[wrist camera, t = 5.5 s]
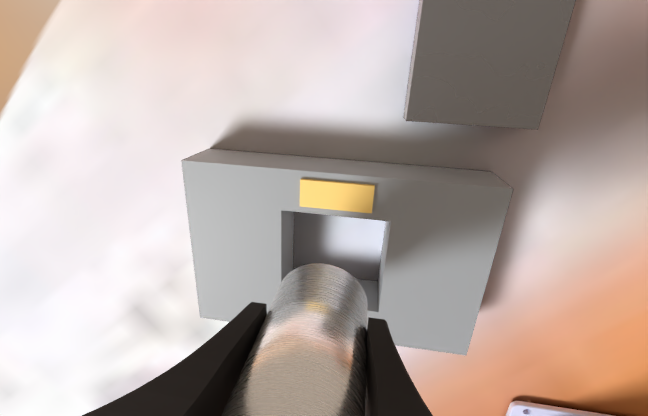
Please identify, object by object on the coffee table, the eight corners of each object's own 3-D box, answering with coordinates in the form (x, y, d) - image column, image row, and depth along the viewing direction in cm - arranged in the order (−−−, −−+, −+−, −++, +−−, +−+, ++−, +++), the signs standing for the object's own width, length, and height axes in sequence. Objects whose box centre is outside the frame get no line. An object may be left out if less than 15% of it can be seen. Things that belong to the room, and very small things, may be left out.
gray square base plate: (562, -16, 14) (583, -26, 13) (524, 125, 16) (537, 129, 15) (421, -19, 15) (426, -29, 13) (403, 117, 17) (406, 120, 16)
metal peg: (363, 343, 15) (356, 547, 8) (277, 332, 15) (209, 517, 9) (372, 268, 13) (371, 447, 7) (277, 258, 14) (193, 417, 7)
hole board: (491, 171, 17) (515, 190, 14) (454, 319, 21) (467, 358, 18) (209, 148, 19) (179, 161, 16) (220, 288, 23) (198, 319, 20)
